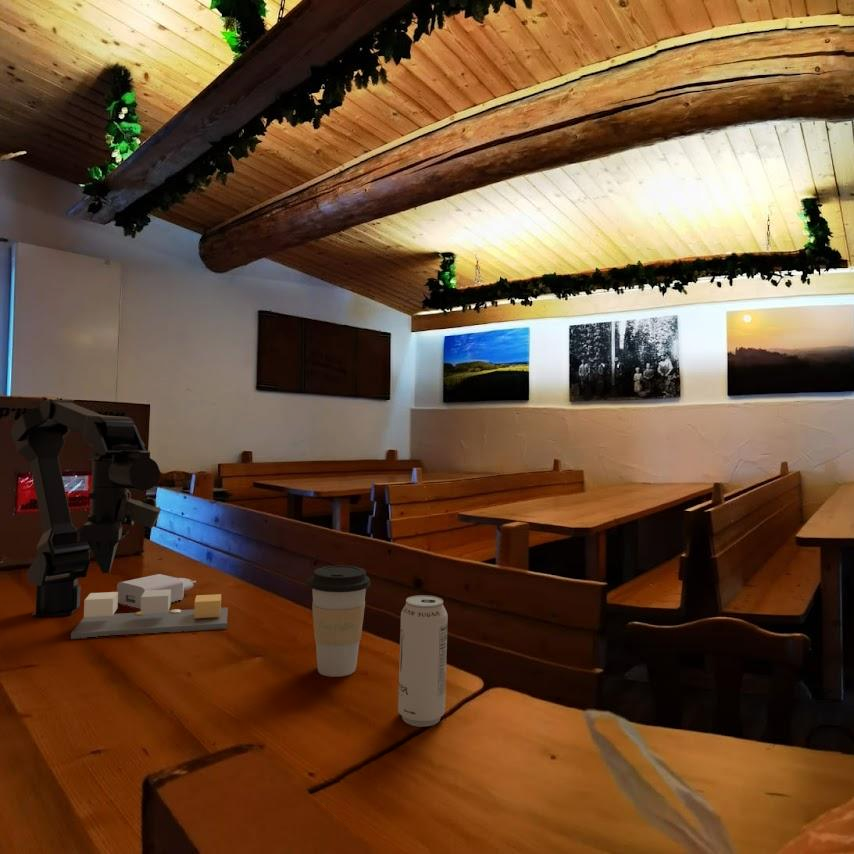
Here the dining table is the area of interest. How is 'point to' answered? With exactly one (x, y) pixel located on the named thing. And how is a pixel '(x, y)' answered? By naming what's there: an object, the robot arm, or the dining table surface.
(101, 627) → the keypad base
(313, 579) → the coffee cup
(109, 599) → the key cream
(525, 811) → the dining table surface
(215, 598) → the key amber
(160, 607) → the key grey
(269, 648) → the dining table surface
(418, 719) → the energy drink can
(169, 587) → the charger
